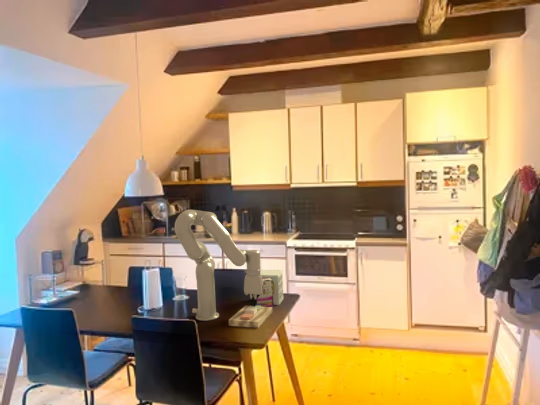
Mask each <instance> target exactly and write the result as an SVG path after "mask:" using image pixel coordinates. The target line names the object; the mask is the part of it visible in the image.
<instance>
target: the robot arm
mask: <svg viewBox="0 0 540 405" xmlns="http://www.w3.org/2000/svg"><path fill="white" fill-rule="evenodd" d="M192 226H199V227H202V228H203V229H204V230H205V231H206V232H207V234H208V235H209V236H210V237H211V238H212V240H214V242H215V243H216V244H217V245H218V247H219V248H220V249H221V250H222V252H223V253H224V255H225V256H226V257H227V258H228V260H230V262H231V263H232V264H233V265H234V266H236V267H242V266H244V265H245V264H246V269H245V270H243V271H244V273H245V275H244V276H245V277H244V280H243V282H244V283H243V292H244V295H245V296H248V297H249V298H250V304H251V306H254V307H255V306H256V305H257V298H258V297H259V296H263V295H264V294H263V290H264V288H263V279H262V275H261V270H262V269H261V251H260V250H258V249H250V250H249V249H248V250H247V249H240V248H238V246H237V245H236V244H235V242H234V240H233V239H232V236H231V234H230V232H229V231H228V230H227V229H226V227H225V226H224V225H223V224H222V223H221V222H220V221H219V219H218V217H217V215H216V214H215V213H214V212H211V211H205V210H204V211H203V210H199V209H198V210H197V209H185V210H184V211H182V212H181V213H180V214H179V215H178V216H177V217H176V219H175V222H174V232H175V236H176V237H177V239H178V241H179V243H180V244H181V246H182V248H183V249H184V251H185V253H186V255H187V257H188V259H190V260H192V261H193V262H195V264H196V266H195V280H196V289H197V290H196V292H197V295H196V296H197V308H192V309H191V312H192V314H195V319H196V320H198V321H201V322H202V321H204V322H205V321H213V320H216V319H217V318H219V317H220V313H219V312H217V307H216V305H217V304H216V289H215V288H216V287H215V286H216V285H215V284H216V283H215V275H214V274H215V268H216V263H215V262H216V261H215V260H214V258H213V257H212V255H211V253H210V252H209V250H208V247H207V246H206V245H205V243H204V242H203V241H201V240H199V239H197V237H196V235H195V233H194V232H193V230H192ZM254 294H255V297H254Z"/></svg>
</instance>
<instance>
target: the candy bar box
mask: <svg viewBox="0 0 540 405" xmlns="http://www.w3.org/2000/svg"><path fill="white" fill-rule="evenodd" d="M263 288H264V290H263V294H264V295H263V296H259V297H258V298H257V305H256V306H261V307H272V308H274V305H273V288H272V279H270V278H265V279H263ZM254 297H255V294H254Z"/></svg>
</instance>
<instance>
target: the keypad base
mask: <svg viewBox="0 0 540 405" xmlns="http://www.w3.org/2000/svg"><path fill="white" fill-rule="evenodd" d="M248 307H252V305H244V306H243V307H242V308H241V309H239V310H238V311H237V312H236V313H235V314H233V315H232V316H231V317H230V318H229V319H228V326H230V327H245V328H255V329H257V328H258V329H259V328H260V326H261V325H263V323H264V322H265V321H266V320H267V319H268V318H269V317H270V316H271V315H272V314H273V307H261V310H260V311H257V314H256V315H255V316H254V315H253V318H252V319H251V320H243V319H240V316H241V315H243V314H244V313H245V310H246V309H247V308H248Z"/></svg>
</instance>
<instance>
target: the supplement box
mask: <svg viewBox="0 0 540 405" xmlns="http://www.w3.org/2000/svg"><path fill="white" fill-rule="evenodd" d="M261 275H262V279H265V278H270V279H272V288H273V306H280V305H281V303H282V302H283V300H284V285H283V284H284V283H283V282H284V279H283V270H282V269H281V270H280V269H261Z"/></svg>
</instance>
